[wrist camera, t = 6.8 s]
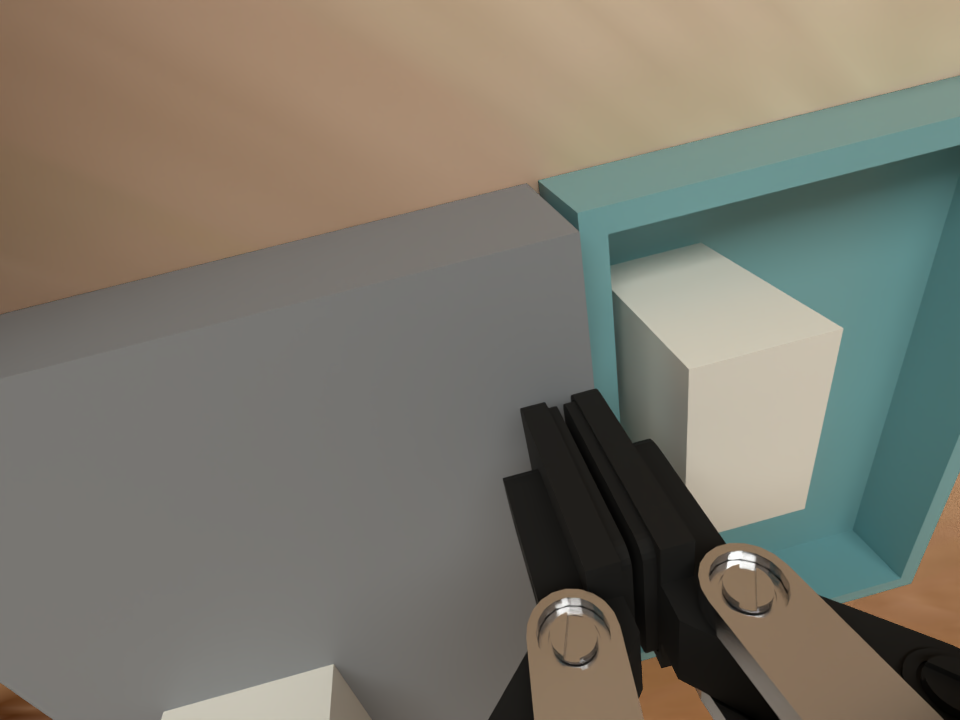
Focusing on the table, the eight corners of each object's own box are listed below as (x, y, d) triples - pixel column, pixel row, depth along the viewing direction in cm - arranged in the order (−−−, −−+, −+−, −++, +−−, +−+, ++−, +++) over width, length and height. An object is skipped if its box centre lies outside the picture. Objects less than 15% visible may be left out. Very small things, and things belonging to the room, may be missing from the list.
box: (987, 68, 13) (1132, 72, 11) (852, 524, 23) (911, 583, 20) (538, 180, 13) (577, 213, 10) (593, 597, 22) (620, 666, 20)
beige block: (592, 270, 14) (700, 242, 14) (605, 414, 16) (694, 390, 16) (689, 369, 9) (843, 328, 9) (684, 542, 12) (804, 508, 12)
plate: (526, 183, 13) (579, 231, 9) (586, 598, 22) (623, 696, 19) (-126, 345, 12) (-319, 459, 9) (225, 700, 22) (196, 820, 18)
